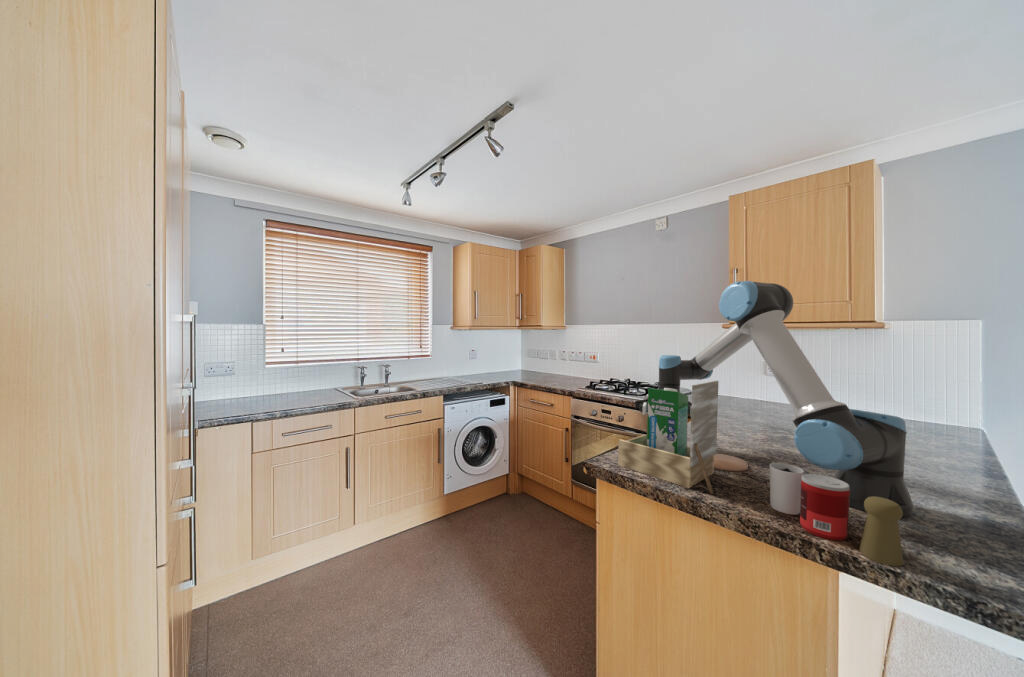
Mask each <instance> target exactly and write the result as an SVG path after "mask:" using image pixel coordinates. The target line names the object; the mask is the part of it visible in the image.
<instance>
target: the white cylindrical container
mask: <svg viewBox="0 0 1024 677" xmlns="http://www.w3.org/2000/svg"><path fill="white" fill-rule="evenodd" d="M802 475H805V470H804V469H803V468H801V467H799V466H796V465H793V464H788V463H782V462H771V463H769V491H770V494H769V498H770V504H769V505H770V507H771V508H772V509H774V510H775V511H777V512H779V513H783V514H786V515H800V500H801V478H802Z"/></svg>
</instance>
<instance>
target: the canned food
mask: <svg viewBox="0 0 1024 677" xmlns="http://www.w3.org/2000/svg"><path fill="white" fill-rule="evenodd" d="M849 499H850V488H849V485H848V484H847V483H845V482H844V481H841V480H839V479H836V478H834V477H833V476H832V477H831V476H828V475H823V474H815V473H814V474H813V473H810V474H809V473H807V474H805V473H804V475H802V478H801V500H800V513H799V523H800V526H801V528H802V529H803V530H804V531H806V532H807V533H810V534H812V535H813V536H816V537H818V538H823V539H825V540H831V541H844V540H846V539H847V537H848V535H849V521H850V520H849V518H850V517H849V516H850V506H849Z"/></svg>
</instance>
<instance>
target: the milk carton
mask: <svg viewBox="0 0 1024 677" xmlns="http://www.w3.org/2000/svg"><path fill="white" fill-rule="evenodd" d="M647 392H648V393H647V398H648V409H647V420H646V421H647V422H646V423H647V424H646V426H647V427H646V429H647V430H646V435H647V446H648V447H651V448H655V449H659V450H663V451H666V452H670V453H674V454H678V455H681V456H685V457H687V447H688V424H689V423H688V419H689V417H688V416H689V413H688V401H689V395H687V394H685V393H681V391H680V392H677V390H676V389H671V388H664V390H659V389H658V388H650V387H649V388H648V390H647Z"/></svg>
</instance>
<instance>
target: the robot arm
mask: <svg viewBox="0 0 1024 677" xmlns="http://www.w3.org/2000/svg"><path fill="white" fill-rule="evenodd" d="M718 308H719V312H720V315H721V316H722V317H723V318H724V319H726V320H728V321H729V322H734V324H732V325H731V326H730V327H728V329H727V330H725V331H724V332H723V333H722V334H721V335H719V336H718V337H717V338H716V339H715V340H713V342H711V343H710V344H709V345H707V346H706V347H705V348H704V349H703V350H701V351H700V352H699V353H698V354H697V355H696V356H694V357H692V358H691V359H689V360H688V359H685V360H684V359H682V357H681V356H680V355H675V354H674V355H673V354H669V355H668V354H662V355H661V356H660V357H659V360H658V385H657V387H658V388H657V389H659V390H664V388H671V389H676V390H677V392H680V393H681V381H682V380H683V381H685V380H686V381H687V380H688V381H692V380H694V381H695V380H698V381H699V380H700V381H701V380H705V379H707V380H708V379H709V378H711V376H712V375H713V373H714V369H716V368H717V367H718V366H719V365H721V364H722V363H724V361H726V360H727V359H729V358H730V357H731V356H733V355H734V354H735V353H737V352H738V351H739V350H741V349H742V348H743V347H745V346H746V345H747V344H749V343H751V342H752V341H753V343H754V345H755V346H756V348H757V349H758V352H759V354H760V355H761V357H762V358H763V360H764V362H765V364H766V365H767V367H768V369H769V371H770V372H771V373H772V375H773V377H774V378H775V380H776V382H777V384H778V385H779V386H780V389H781V391H782V392H783V393H784V395H785V397H786V399H787V400H788V403H789V404H790V406H791V407H792V409H793V410H794V415H793V418H792V422H793V424H794V426H795V430H794V434H795V435H794V437H793V440H794V445H795V447H796V449H797V450H798V452H799V454H801V456H802V457H803V458H804V459H805V460H806V461H808V462H810V463H811V464H812V465H814V466H816V467H819V468H820V469H825V470H829V471H836V472H835V474H834V476H833V478H836V479H839V480H841V481H844V482H845V483H847V484H848V485H849V488H850V499H849V507H851V508H854V509H857V510H861V511H865V512H866V510H865V507H864V501H865V499H867V498H868V497H872V496H874V497H881V498H885V499H889V500H892V501H894V502H896V503H897V504H898V505H899V506H900V507H901V509H902V512H903V515H902V518H905V517H907V518H908V517H911V516H912V515H913V514H914V502H913V500H912V498H911V495H910V492H909V490H908V488H907V484H906V482H905V478H904V476H905V460H906V459H905V457H906V438H907V434H908V432H907V428H906V422H905V420H904V419H903V418H902V417H899V416H896V415H890V414H884V413H879V412H873V411H866V410H862V409H861V410H860V409H854V408H849V406H848V405H847V404H846V403H844V402H841V401H837V400H836V399H834V397H833V396H832V394H831V393H830V392H829V390H828V389H827V387H826V385H825V384H824V382H823V380H822V379H821V378H820V376H819V375H818V373H817V372H816V370H815V369H814V367H813V366H812V364H811V363H810V360H808V358H807V357H806V355H805V353H804V352H803V350H802V349H801V347H800V346H799V345H798V343H797V341H796V339H795V338H794V337H793V335H792V334H791V332H790V330H789V329H788V328H787V326H786V324H785V323H784V321H785V320H786V319H787V317H788V316H789V315H790V314H791V312H792V310H793V308H794V298H793V296H792V293H791V292H790V291H789V289H787V287H785V286H783V285H781V284H778V283H771V282H769V283H767V282H758V281H753V280H743V281H742V280H741V281H736V282H733V283H731V284H729V285H728V286H727V287H725V289H724V290H723V292H722V293H721V295H720V299H719V301H718ZM634 409H635V410H639V411H640V413H641V414H642V415H644V416H645V415H646V413H647V411H648V397H647V398H644V399H639V400H635V401H634ZM691 409H692V401H689V400H688V415H689V416H690V418H691Z"/></svg>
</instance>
